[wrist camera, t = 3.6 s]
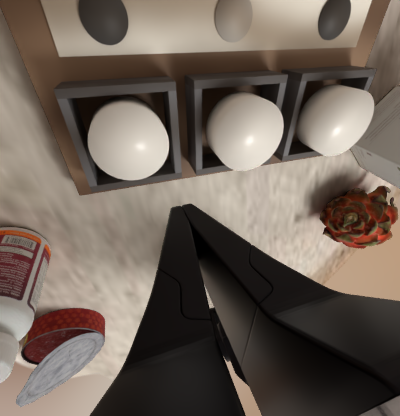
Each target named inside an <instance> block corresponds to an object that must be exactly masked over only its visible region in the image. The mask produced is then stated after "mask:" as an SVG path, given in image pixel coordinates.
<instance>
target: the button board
mask: <svg viewBox="0 0 400 416" xmlns="http://www.w3.org/2000/svg"><path fill="white" fill-rule="evenodd" d="M389 3H390V0H0V7H1V9H2V12H3V14H4V16H5V19H6V21H7V24H8V26H9V28H10V31H11V33H12V36H13V38H14V40H15V43H16V45H17V47H18V50H19V52H20V55H21V57H22V59H23V62H24V64H25V66H26V69H27V71H28V74H29V76H30V78H31V81H32V83H33V86H34V88H35V90H36V93H37V95H38V97H39V100H40V102H41V105H42V107H43V109H44V112H45V114H46V117H47V119H48V121H49V124H50V126H51V128H52V131H53V133H54V136H55V138H56V140H57V143H58V145H59V147H60V150H61V152H62V155H63V157H64V159H65V162H66V164H67V167H68V169H69V171H70V174H71V176H72V178H73V181H74V183H75V186H76V188H77V190H78V193H79V195H87V194H93V193H99V192H105V191H111V190H117V189H123V188H129V187H135V186H141V185H147V184H153V183H159V182H165V181H171V180H177V179H184V178H190V177H196V176H202V175H208V174H214V173H220V172H226V171H232V170H233V169H230V168H228V167H227V166H226V165H225V164H224V163H223V162H222V161H221V160H220V159H219V157H218V156H217V155H216V154H215V153H214V152H213V150H212V149H211V148H210V146H209V144H208V142H207V139H206V123H207V120H208V117H209V114H210V112H211V111H212V109H213V108H214V106H215V105H216V104H217V103H218V102H219V101H220V100H221V99H222V98H224V97H225V96H227V95H229V94H231V93H234V92H239V91H245V92H249V93H252V94H254V95H257V96H259V97H261V98H264V99H266V100H268V101H270V102H272V103H274V104H275V105H276V106H277V107H278V108H279V110H280V112H281V114H282V117H283V124H284V128H283V135H282V138H281V141H280V143H279V145H278V147H277V149H276V151H275V152H274V153H273V155H272V156H271V157H270V158H269V159H268V160H267V161H266V162H264V163H263V164H262V165H268V164H274V163H281V162H287V161H293V160H299V159H305V158H311V157H317V156H323V155H322V154H320V153H319V152H317V151H315V150H313V149H312V148H310V147H308V146H306V145H305V144H303V143H302V142H301V141H300V140H299V138H298V136H297V132H296V126H297V120H298V117H299V114H300V112H301V110H302V108H303V106H304V105H305V103H306V102H307V101H308V99H309V98H310V97H311V96H312V95H313V94H314V93H315V92H317V91H318V90H319V89H321V88H323V87H325V86H327V85H331V84H338V85H343V86H347V87H352V88H356V89H360V90H365V91H367V92H368V90H369V87H370V85H371V83H372V80H373V78H374V75H375V73H376V70H377V69H373V68H365V65H366V63H367V60H368V57H369V55H370V52H371V50H372V47H373V44H374V42H375V39H376V37H377V34H378V31H379V29H380V26H381V23H382V21H383V18H384V16H385V13H386V10H387V8H388V5H389ZM120 96H127V97H133V98H136V99H139V100H141V101H143V102H145V103H146V104H148V105H149V106H150V107H151V108H152V109H153V110H154V111H155V112H156V114H157V115H158V117H159V119H160V120H161V122H162V124H163V126H164V128H165V130H166V132H167V135H168V139H169V151H168V156H167V158H166V160H165V162H164V164H163V165H162V167H161V168H160V169H159V170H158V171H157V172H155V173H154V174H152V175H151V176H149V177H147V178H144V179H140V180H122V179H118V178H115V177H113V176H111V175H109V174H107V173H106V172H104V171H103V170H102V169H101V168H100V167H99V166H98V165H97V164H96V163H95V161H94V160H93V158H92V156H91V154H90V151H89V147H88V133H89V129H90V125H91V120H92V117H93V115H94V113H95V111H96V110H97V108H98V107H99V106H100V105H101V104H102V103H104V102H105V101H107V100H109V99H111V98H115V97H120ZM262 165H260V166H262Z"/></svg>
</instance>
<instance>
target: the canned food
mask: <svg viewBox="0 0 400 416" xmlns="http://www.w3.org/2000/svg"><path fill="white" fill-rule="evenodd" d="M104 342H105V319H104V317H103V316H102V315H101V314H100V313H98V312H96V311H93V310H90V309H83V308H70V309H62V310H57V311H54V312H50V313H48V314H45V315H43V316H41V317H39V318H37V319H36V320H35V321H33V323H32V326H31V328H30V330H29V331H28V333H27V334H26V338H25V341H24V345H23V348H22V351H21V356H22V358H23V359H24V360H25V361H27V362H29V363H31V364H35V365H38V366H37V367H36V368H35V370H34V371H33V372H32V373H31V375H30V377H29V379H28V381H27V383H26V385H25V386H24V388H23V390H22V391H21V393H20V394H19V395H18V396H17V399H16V403H17V404H18V405H19V406H20V407H22V406H24V405H26V404H29V403H32V402H34V401H35V400H37V399H38V398H40V397H42V396H44V395H46V394H48V393H49V392H51V391H52V390H53V389H55V388H56V387H57V386H59V385H61V384H63V383H64V382H66V381H67V380H68V379H69V378H71V377H72V376H73V375H75V374H76V373H78V372H79V371H80V370H81V369H82V368H83V367H84V366H85V365H87V364H88V363H89V362H90V361H91V360H92V359H93V358H94V357H95V355H96V354H97V353H98V352H99V351H100V350H101V348H102V346H103V345H104Z"/></svg>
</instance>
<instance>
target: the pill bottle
mask: <svg viewBox="0 0 400 416" xmlns="http://www.w3.org/2000/svg"><path fill="white" fill-rule="evenodd" d="M50 256H51V248H50V245H49V243H48V242H47V241H46V240H45V239H44V238H43V237H42V236H41V235H39V234H38V233H36V232H34V231H31V230H28V229H23V228H17V227H2V228H0V383H1V382H3V381H4V380H5V379H6V378H8V376H9V375H10V373H11V371H12V368H13V365H14V362H15V358H16V356H17V353H18V350H19V342H18V341H19V340H21V339H22V338H23V337H24V336H25V335H26V334H27V333H28V331H29V330H30V328H31V326H32V323H33V320H34V316H35V313H36V309H37V305H38V302H39V298H40V294H41V290H42V287H43V283H44V279H45V275H46V272H47V268H48V264H49V260H50Z"/></svg>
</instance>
